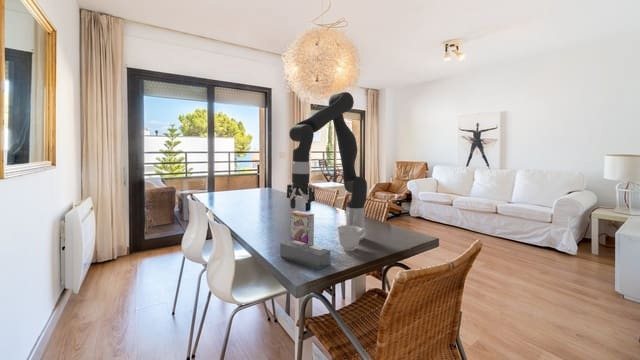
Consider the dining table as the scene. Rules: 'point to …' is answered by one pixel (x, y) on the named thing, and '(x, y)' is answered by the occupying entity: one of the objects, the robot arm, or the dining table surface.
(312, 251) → the box
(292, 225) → the candy bar box
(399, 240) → the dining table surface
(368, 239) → the dining table surface
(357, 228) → the teacup
